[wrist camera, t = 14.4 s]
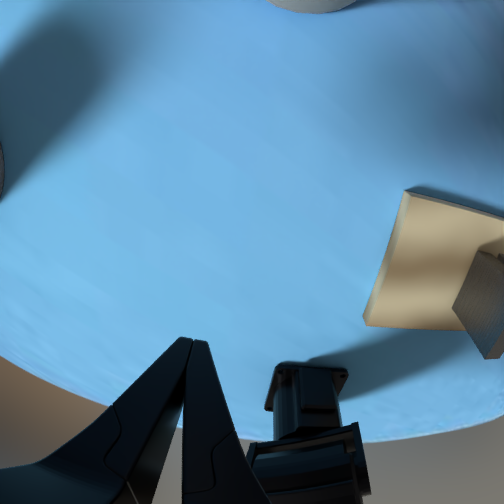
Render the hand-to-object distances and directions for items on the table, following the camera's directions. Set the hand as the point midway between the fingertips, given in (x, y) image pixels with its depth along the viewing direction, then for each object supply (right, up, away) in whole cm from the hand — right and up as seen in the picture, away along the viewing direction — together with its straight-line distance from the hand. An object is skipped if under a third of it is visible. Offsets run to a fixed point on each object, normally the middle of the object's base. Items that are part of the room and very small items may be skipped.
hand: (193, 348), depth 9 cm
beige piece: (+20, +1, +12) cm, 24 cm away
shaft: (+24, 0, +11) cm, 26 cm away
